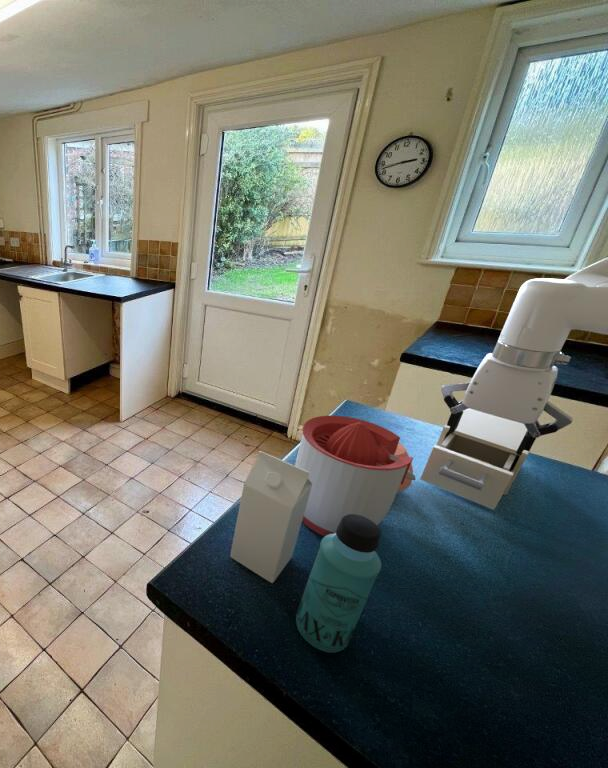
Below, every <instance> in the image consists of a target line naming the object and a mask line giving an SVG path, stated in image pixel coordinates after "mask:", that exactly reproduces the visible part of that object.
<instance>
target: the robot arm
mask: <svg viewBox="0 0 608 768" xmlns="http://www.w3.org/2000/svg"><path fill="white" fill-rule="evenodd" d="M502 327H503V328H502V329H501V331H500V335H499V337H498V338H497V342H496V344H495V346H494V349H493V350H492V353H491V352H490V353H486V355H485V356H484V358H483V359H482V360H481V362H480V363H479V365H478V367H477V369H476V370H475V372H474V374H473V376H472V378H471V380H470V381H465V382H464V381H463V382H455V383H446V384H443V385H442V386H441V387H440V390H441V393H442V397H443V401H444V403H445V404H446V406H447V407H448V409H449V412H450V415H449V417H448V420H447V422H446V424H447V426H450V428H449V431H448V432H450V433H453V432H454V431H455V430H456V428H457V427H458V424H459V422H460V419H461V417H462V415H463V410H466V409H468V408H470V409H473V410H477V411H480V412H483V413H487V414H490V415H494V416H497V417H501V418H505V419H508V420H512V421H515V422H519V423H524V425H525V427H526V428H527V432H526V434H525V436H524V438H523V440H522V442H521V444H520V446H519V448H518V450H517V452H516V453H517V455H520V456H521V454H522V452H523V450H526V451H529V452H530V451H531V449H532V447H533V445H534V443H535V441H536V439H538V438H540V437H541V436H545V435H550V434H554V433H557V432H558V431H559V430H562V429H563V428H566V427H567V426H569V425H571V424H572V423H573V420H574V418H573V417H572V416H571V415H569V414H568V413H566V412H565V411H563V410H562V409H560V408H559V407H558V406H557V405H555V404H553V403H552V402H551V401H549V399H550V396H551V394H552V392H553V389H554V387H555V383H556V381H557V377H558V373H559V368H558V366H557V365H561V364H562V365H568V364H569V362H570V361H571V358H572V356H571V355H570V356H569V355H566V354H564V353H563V352H562V348H563V346H564V344H565V342H566V340H567V339H568V337H569V335H570V333H571V331H573V330H578V331H579V330H580V331H585V332H591V333H596V334H601V335H608V257H606V258H603V259H601V260H599V261H597V262H595V263H592V264H589V265H588V266H586V267H583V268H582V269H580V270H578V271H576V272H574V273H572V274H570V275H568V276H567V277H566V278H564V279H562V278H550V277H549V278H547V277H540V278H538V277H537V278H532V279H528V280H526V281H525V282H523V284H521V286H520V288H519V290H518V291H517V294H516V297H515V299H514V301H513V303H512V306H511V308H510V311H509V313H508V316H507V318H506V320H505V323H504V324H503V326H502ZM461 391H462V392H463V391H465V393H464V395H463V398H462V400H461V401H458V400H457V399H456V397H455V396H454V393H453V392H461ZM543 412H545V413H546V414H548V415H549V416H551V417H552V418H554V419H555V420H554V421H552V422H549V423H544V424H541V423H540V421H539V418H540V417H541V415H542V413H543Z"/></svg>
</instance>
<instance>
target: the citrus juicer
mask: <svg viewBox="0 0 608 768" xmlns="http://www.w3.org/2000/svg"><path fill="white" fill-rule="evenodd" d="M301 431H302V432H301V433H302V437H301V438H300V439H301V440H300V443H299V446H298V447H299V448H298V452H297V456H296V460H295V462H294V463H295V464H294V466H297V467H299V468H301V469H304V470H306V471H308V472H309V476H308V479H309V480H310V482H311V483H312V487H311V491H310V495H309V498H308V502H307V505H306V509H305V512H304V516H303V520H302V523H303V524H304V525H305V526H306V527H307V528H309V529H310V530H312V531H313V532H314V533H317V534H319V535H321V537H325V536H326V535H329V534H333V533H336V529H337V527H338V525H339V523H340V521H341V519H342V518H343V517H344V516H345V515H348V514H356V515H360V516H363V517H366V518H368V519H370V520H371V521H373V522H374V523H375V524H376V525H377V526H378V525H379V524H380V523H381V522H382V521H383V520H384V519H385V517H386V516H387V514H388V512H389V510H390V509H391V507H392V505H393V503H394V501H395V499H396V496H397V493H398V492H397V491H398V488H399V486H400V484H402V485H403V482H404V480H405V478H407V479H411V480H412V481H414V482H416V475H415V474H414V473H413V474H412V473H411V472H410V470H409V467H410V465H411V463H412V462H413V459H414V457H413V456H409V457H397V456H395V455H394V454H395V452H396V449H397V446H398V443H400V439H401V436H399V435H397V434H396V433H394V432H393V431H391V430H390V429H387V428H386V427H383V426H380V425H379V424H376V423H373V422H371V421H367V420H364V419H359V418H355V417H351V416H345V415H319V416H315V417H312V418H310V419H308V420H306V422H304V424H303V426H302V428H301Z"/></svg>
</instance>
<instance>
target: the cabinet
mask: <svg viewBox="0 0 608 768" xmlns="http://www.w3.org/2000/svg"><path fill="white" fill-rule="evenodd" d="M449 428H450V426H447V423H446V424H444V426H443V428H442V430H441V432H440V435H439V437H438V440H437V442H436V444H435V445H437V446H441V444H442V443H443V442H444V441H445V439H446V438H447V437H448V436H449V434H450V432H448V431H449ZM526 432H527V428H526V427H525V425H524V423H519V422H515V421H512V420H508V419H505V418H501V417H497V416H494V415H490V414H487V413H483V412H480V411H477V410H473V409H470V408H468V409H466V410H463V415H462V417H461V419H460V422H459V424H458V427H457V428H456V430H455V431H454V432H453V434H456V435H459V436H462V437H465V438H468V439H471V440H474V441H477V442H480V443H483V444H486V445H489V446H492V447H495V448H498V449H501V450H504V451H507V452H510V453H513V454H516V457H515V459H514V461H513V463H512V465H511V467H510V469H509V471H510V472H513V473H514V474H513V476H512V478H511V480H510V482H509V484H508V485H507V487H506V489H505V491H504V493H503V495H504V496H506V495H507V494H508V493H509V491H510V489H511V486H513V483H514V481H515V479H516V477H518V474H519V472H520V471H521V469H522V467H523V464H524V463H525V462H526V458H527V457H528V456H529V454H530V451H526V450H523V452H522V454H521V456H520V455H517V453H516V452H517V450H518V448H519V446H520V444H521V442H522V440H523V438H524V436H525V434H526Z"/></svg>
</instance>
